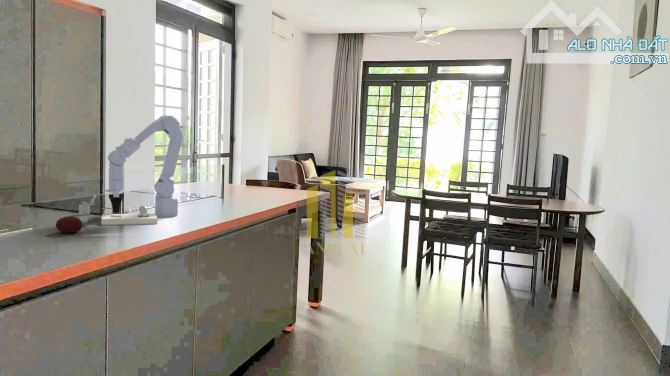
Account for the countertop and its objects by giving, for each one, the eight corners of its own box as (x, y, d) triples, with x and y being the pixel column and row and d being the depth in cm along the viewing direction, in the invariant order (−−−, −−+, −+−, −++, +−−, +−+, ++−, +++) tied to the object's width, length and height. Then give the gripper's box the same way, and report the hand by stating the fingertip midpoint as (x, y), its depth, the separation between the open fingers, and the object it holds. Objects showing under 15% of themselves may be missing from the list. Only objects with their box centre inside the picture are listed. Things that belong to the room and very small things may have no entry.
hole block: (155, 220, 198) (155, 213, 197) (157, 225, 189) (157, 218, 188) (102, 221, 189) (102, 214, 189) (101, 226, 180) (101, 219, 180)
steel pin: (146, 220, 193) (146, 206, 192) (147, 222, 190) (147, 207, 190) (139, 220, 192) (139, 206, 191) (139, 222, 189) (139, 207, 188)
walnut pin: (119, 217, 199) (119, 199, 198) (119, 219, 196) (119, 200, 195) (112, 217, 197) (112, 199, 196) (112, 219, 195) (112, 200, 194)
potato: (57, 230, 170) (57, 214, 169) (83, 230, 173) (83, 214, 172) (54, 235, 163) (54, 218, 162) (81, 234, 166) (81, 218, 165)
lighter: (81, 215, 198) (81, 196, 197) (78, 214, 199) (78, 196, 198) (96, 213, 205) (96, 195, 204) (93, 212, 206) (93, 194, 205)
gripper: (106, 177, 200) (105, 208, 201) (105, 181, 187) (104, 215, 188) (124, 177, 203) (123, 208, 204) (124, 181, 190) (124, 215, 191)
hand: (115, 211), depth 196 cm, fingers closed on walnut pin, 3 cm apart
